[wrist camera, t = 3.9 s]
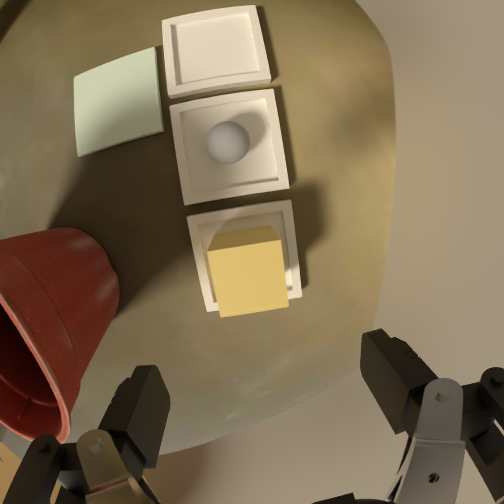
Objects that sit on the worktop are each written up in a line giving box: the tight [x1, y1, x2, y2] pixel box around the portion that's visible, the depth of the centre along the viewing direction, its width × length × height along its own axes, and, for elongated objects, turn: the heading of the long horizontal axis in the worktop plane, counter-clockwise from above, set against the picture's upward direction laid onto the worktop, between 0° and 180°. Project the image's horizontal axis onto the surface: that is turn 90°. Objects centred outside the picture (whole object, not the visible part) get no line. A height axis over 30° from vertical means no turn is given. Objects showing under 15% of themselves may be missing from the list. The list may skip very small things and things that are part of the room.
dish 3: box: [187, 199, 302, 312], centre depth 25 cm, size 9×9×1 cm
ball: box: [206, 121, 250, 164], centre depth 21 cm, size 4×4×4 cm
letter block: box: [207, 225, 289, 317], centre depth 22 cm, size 5×5×6 cm
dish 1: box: [162, 5, 271, 99], centre depth 20 cm, size 9×9×1 cm
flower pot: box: [0, 227, 120, 444], centre depth 18 cm, size 16×16×16 cm
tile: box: [74, 47, 164, 157], centre depth 21 cm, size 9×9×1 cm
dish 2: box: [169, 89, 290, 205], centre depth 22 cm, size 9×9×1 cm
